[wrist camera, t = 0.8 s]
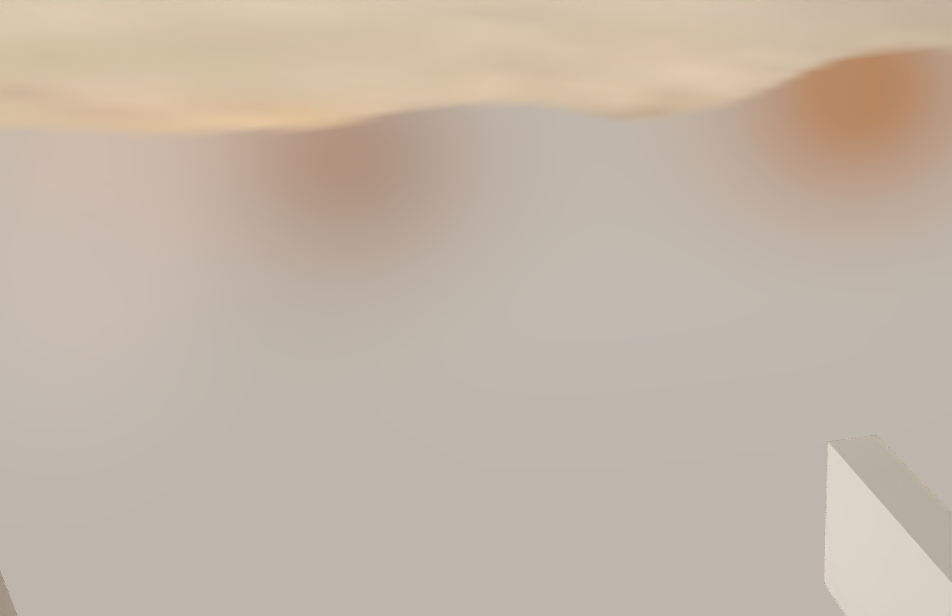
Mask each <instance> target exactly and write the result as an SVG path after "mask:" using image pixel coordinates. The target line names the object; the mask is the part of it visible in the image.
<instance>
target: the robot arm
mask: <svg viewBox="0 0 952 616" xmlns="http://www.w3.org/2000/svg"><path fill="white" fill-rule="evenodd" d="M824 584H825V585H826V587H827V588H828V590H829V591H830V593H831V594H832V596H833V597H834V599H835V600H836V602H837V603H838V605H839V606H840V608H841V609H842V611H843V612H844V614H845V615H846V616H952V511H951V510H950V509H949V508H948V507H947V506H946V505H945V504H944V503H943V502H942V501H941V500H940V499H939V498H938V497H937V496H936V495H935V494H934V493H933V492H932V491H931V490H930V489H929V488H928V487H927V486H926V485H925V484H924V483H923V482H922V481H921V480H920V479H919V478H918V477H917V476H916V475H915V474H914V473H913V472H912V471H911V470H910V469H909V468H908V467H907V466H906V465H905V464H904V463H903V462H902V461H901V460H900V459H899V458H898V457H897V456H896V455H895V454H894V453H893V452H892V451H891V450H890V449H889V448H888V447H887V446H886V445H885V444H884V443H883V442H882V441H881V440H880V439H879V438H878V437H877V436H876V435H871V436H864V437H858V438H850V439H843V440H836V441H829V442H828V460H827V498H826V533H825V570H824ZM0 616H17V613H16V611H15V608H14V605H13V603H12V601H11V598H10V595H9V593H8V590H7V588H6V585H5V583H4V580H3V577H2V575H1V572H0Z"/></svg>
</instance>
